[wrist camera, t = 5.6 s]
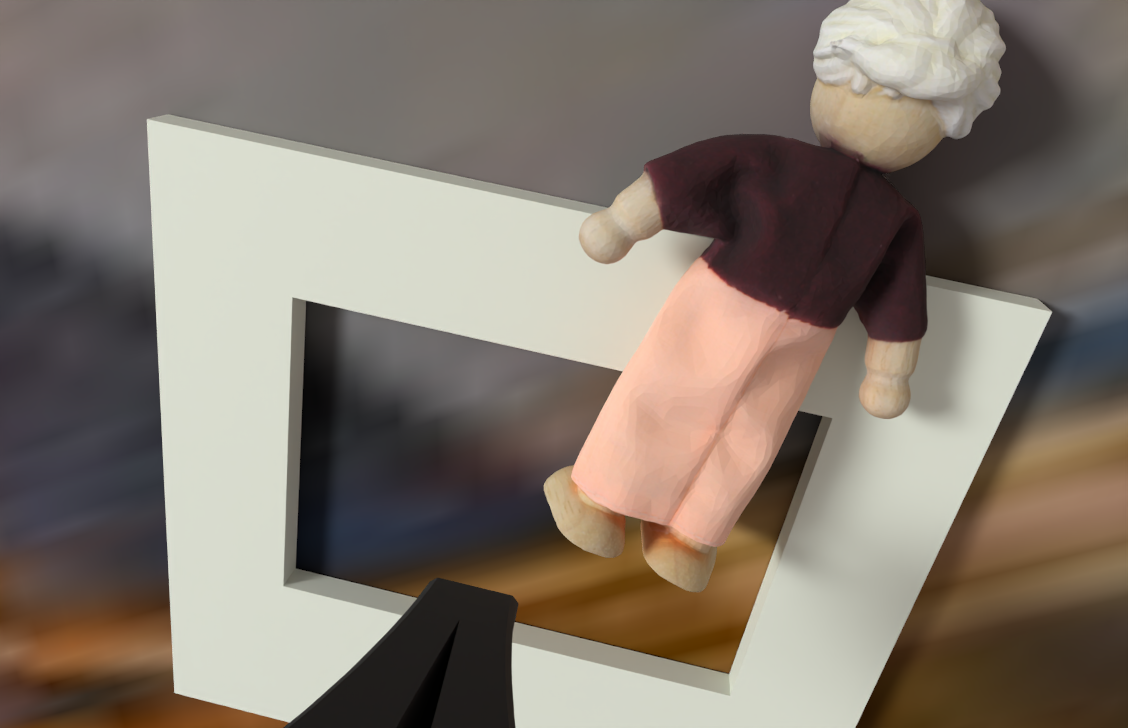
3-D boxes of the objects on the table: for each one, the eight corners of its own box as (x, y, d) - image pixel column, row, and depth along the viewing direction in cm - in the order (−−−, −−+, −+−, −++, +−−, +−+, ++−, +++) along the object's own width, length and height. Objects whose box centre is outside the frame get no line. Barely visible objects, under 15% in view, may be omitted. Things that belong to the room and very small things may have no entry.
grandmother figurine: (713, 520, 22) (1021, 69, 18) (775, 625, 18) (1173, 97, 14) (447, 429, 19) (743, -135, 15) (463, 534, 15) (852, -160, 11)
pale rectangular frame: (793, 827, 25) (796, 852, 25) (188, 673, 27) (174, 692, 26) (1038, 299, 18) (1052, 311, 17) (167, 114, 19) (146, 119, 18)
